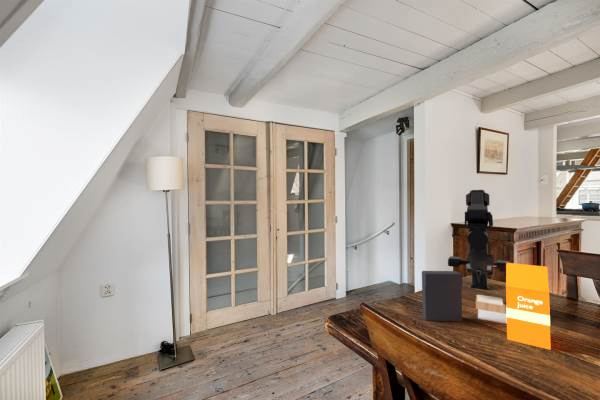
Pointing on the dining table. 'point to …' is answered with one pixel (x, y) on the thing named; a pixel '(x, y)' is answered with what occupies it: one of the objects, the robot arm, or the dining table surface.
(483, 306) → the tile
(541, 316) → the orange juice
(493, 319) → the mat
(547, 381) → the dining table surface
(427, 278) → the charcoal upright rounded slab
